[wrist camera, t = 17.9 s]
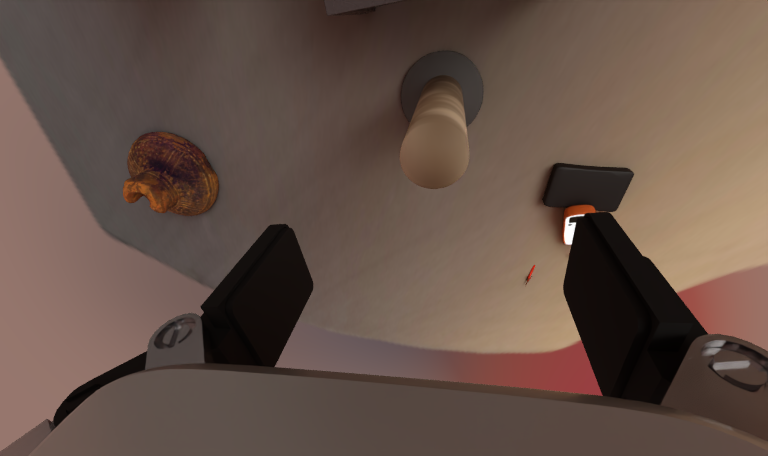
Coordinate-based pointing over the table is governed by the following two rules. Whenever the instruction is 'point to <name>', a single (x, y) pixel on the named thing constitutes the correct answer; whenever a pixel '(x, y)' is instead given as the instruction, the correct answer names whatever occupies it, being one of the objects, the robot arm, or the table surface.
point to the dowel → (437, 136)
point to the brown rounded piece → (170, 175)
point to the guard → (354, 6)
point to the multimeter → (584, 192)
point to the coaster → (443, 65)
